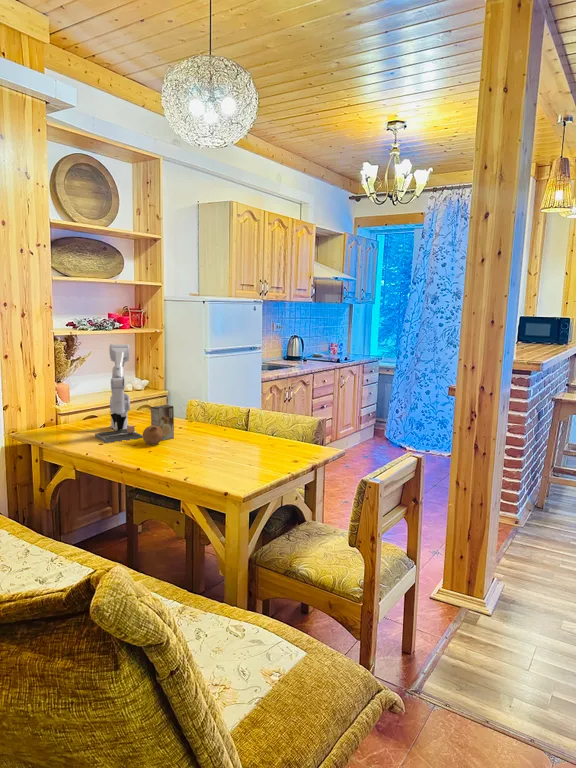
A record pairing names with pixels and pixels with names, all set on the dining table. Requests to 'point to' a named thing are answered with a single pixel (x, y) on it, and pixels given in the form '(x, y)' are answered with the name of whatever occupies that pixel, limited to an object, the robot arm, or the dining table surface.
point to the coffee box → (163, 420)
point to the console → (117, 436)
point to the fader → (130, 429)
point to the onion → (152, 435)
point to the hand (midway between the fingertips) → (118, 428)
